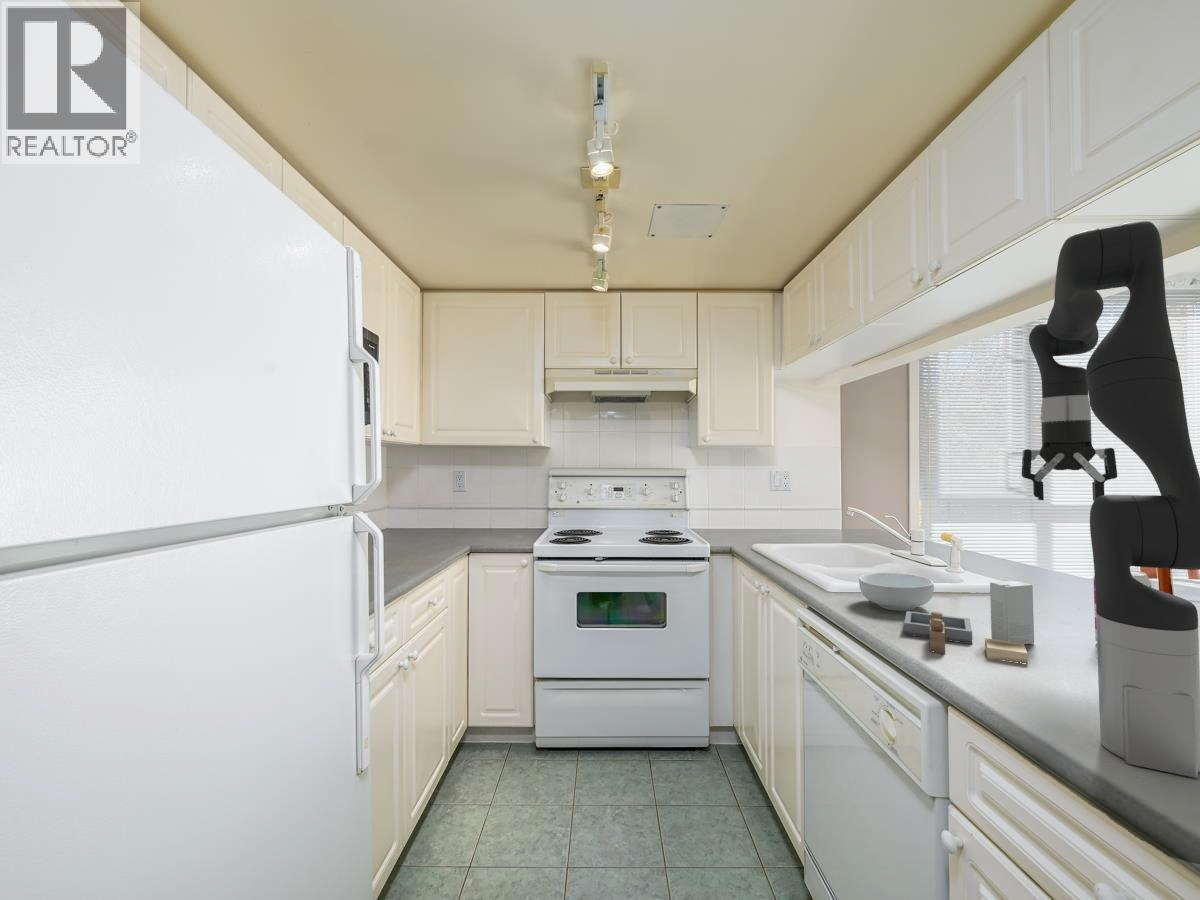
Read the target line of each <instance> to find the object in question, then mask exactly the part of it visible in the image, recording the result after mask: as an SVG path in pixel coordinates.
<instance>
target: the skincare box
mask: <svg viewBox="0 0 1200 900" xmlns="http://www.w3.org/2000/svg"><path fill="white" fill-rule="evenodd" d="M1033 591H1034V589H1033V585H1032V584H1029V583H1025V582H1022V581H1018V580H1017V581H1016V580H1012V581H1011V580H1010V581H1009V580H1008V581H1007V580H1006V581H990V582H989V592H990V596H989V598H990V629H991V631H990V633H991V639H996V640H1003V641H1011V642H1018V643H1023V644H1024V645H1033V644H1035V628H1034V627H1035V626H1034V625H1035V623H1034V618H1035V617H1034V592H1033Z"/></svg>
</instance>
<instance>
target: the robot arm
mask: <svg viewBox="0 0 1200 900" xmlns="http://www.w3.org/2000/svg"><path fill="white" fill-rule="evenodd" d="M1162 247H1163V245H1162V239H1161V235H1160V232H1159V230H1158V228H1157V226H1156V225H1155V224H1154V222H1151V221H1149V220H1148V221H1147V220H1140V221H1139V220H1137V221H1130V222H1125V223H1121V224H1114V225H1109V226H1108V225H1107V226H1104V227H1098V228H1092V229H1088V230H1083V231H1080V232H1076V233H1074V234H1072V235H1070V236H1069V237H1068V238H1066V240H1065V241H1064V242H1063V244H1062V246H1061V248H1060V251H1059V254H1058V259H1057V266H1056V273H1055V283H1054V300H1053V306H1052V308H1051V311H1050V313H1049V316H1048V318H1047V321H1046V322H1040V323H1037V324H1036V325H1034V327H1033V328H1031V331H1030V332H1029V335H1028V344H1029V347H1030V350H1031V352H1032V354H1033V357H1034V359H1035V361H1036V364H1037V367H1038V369H1039V374H1040V380H1041V398H1042V399H1041V400H1042V401H1041V408H1040V421H1041V422H1040V423H1041V425H1040V426H1041V447H1040V449H1039V450H1037V449H1036V450H1035V449H1028V448H1026V449H1023V450H1022V456H1021V457H1022V459H1021V477H1022V478H1024V479H1027V480H1030V481H1032V490H1033V493H1032V495H1033V496H1034V498H1037V500H1038V501H1044V498H1045V497H1044V495H1045V494H1044V481H1043V479H1044V478H1045V477H1046V476H1047V475H1048V474H1049V473H1050V472H1052V470H1055V471H1065V470H1071V471H1079V470H1083V471H1084V472H1085V473H1086V474H1087V475H1088V476H1090V477H1091V479H1092V480H1093V481H1092V482H1091V485H1092V487H1091V488H1092V490H1091V491H1092V501H1093V503H1092V504H1091V507H1090V509H1089V510H1090V511H1089V531H1090V532H1089V533H1090V542H1091V551H1092V560H1093V571H1094V574H1093V575H1095V593H1096V612H1097V613H1096V621H1097V641H1096V652H1097V674H1098V675H1097V676H1098V677H1097V678H1098V679H1097V680H1098V681H1097V682H1098V709H1099V731H1100V732H1099V733H1100V743H1101V746H1103V747H1104V748H1105V749H1106V750H1108V751H1110V753H1112V754H1114V755H1116V756H1118V757H1120V758H1121V759H1123V760H1124V761H1125V763H1126V764H1127V765H1128V764H1129V765H1132V766H1137V767H1143V768H1147V769H1152V770H1156V771H1161V772H1166V773H1171V774H1176V775H1180V776H1185V777H1190V778H1194V779H1198V778H1199V773H1200V642H1199V641H1200V639H1199V637H1200V636H1199V614H1198V613H1199V611H1198V609H1197V607H1196V605H1195V604H1194V603H1192V602H1191V601H1189V600H1187V599H1185V598H1183V597H1181V596H1178V595H1174V594H1171V593H1168V592H1165V591H1161V590H1159V589H1156V588H1154V587H1152V586H1151V587H1152V588H1151V587H1149V586H1147V585H1144V584H1143V583H1141V582H1139V581H1137V580H1136V579H1134V578H1133V577H1132V575H1131V571H1130V570H1131V567H1137V568H1139V567H1140V568H1152V569H1153V568H1154V569H1155V568H1156V569H1169V570H1187V571H1198V570H1199V571H1200V472H1199V469H1198V467H1197V462H1196V459H1195V456H1194V452H1193V448H1192V447H1193V446H1192V443H1191V438H1190V431H1189V425H1188V420H1187V418H1188V417H1187V413H1186V407H1185V406H1186V405H1185V397H1184V389H1183V382H1182V377H1181V371H1180V367H1179V366H1180V365H1179V362H1178V361H1179V360H1178V358H1177V354H1176V349H1175V344H1174V340H1173V336H1172V331H1171V326H1170V320H1169V315H1168V310H1167V309H1168V307H1167V300H1166V299H1167V297H1166V285H1165V270H1164V256H1163V248H1162ZM1116 288H1117V289H1118V288H1127V289H1128V290H1129V298H1128V302H1127V304H1126V306H1125V308H1124V309H1123V311H1122V313H1121V315H1120V316H1119V318H1118V320H1117V321H1116V322H1115V324H1114V325H1113V326H1112V328H1110V330H1109V331H1108V333H1107V334H1106V335H1105V336H1104V337H1103V339H1102V340H1101V341H1100V343H1099V344H1098V342H1099V337H1100V336H1099V330H1098V326H1097V323H1098V321H1099V319H1100V318H1101V316H1102V314H1103V311H1104V301H1103V297H1102V295H1101V293H1099V292H1098V291H1102V290H1110V289H1116ZM1096 346H1097V347H1096ZM1095 347H1096V348H1095ZM1093 349H1095V350H1094V351H1093V352H1092V354H1091V355H1090V358H1089V360H1088V361H1087V364H1086V368H1085V367H1083V366H1077V365H1065V364H1060V363H1059V362H1057V360H1055V359H1054V358H1055V357H1062V356H1072V355H1073V356H1074V355H1082V354H1086V353H1089V352H1091V351H1092V350H1093ZM1091 411H1092V412H1091ZM1092 413H1093V414H1094V416H1095V417H1096V418H1097V420H1098V421H1099V422H1100V423H1101V424H1102V425H1103V426H1104V427H1106V428H1107V430H1108V431H1110V433H1111V434H1113V435H1114V436H1115V437H1116V438H1118V439H1119V440H1120V441H1121V442H1122V443H1123V444H1124V445H1126V446H1127V447H1128V448H1129V449H1130V450H1131V451H1132V452H1134V453H1135V455H1137V457H1138V458H1139V459H1140V460H1141V461H1142V462H1143V463H1144V465H1145V466H1146V467H1147V469H1148V470H1149V472H1150V473H1151V475H1152V477H1153V479H1154V481H1155V483H1156V485H1157V488H1158V490H1159V492H1160V495H1157V494H1156V495H1155V494H1154V495H1153V494H1152V495H1151V494H1150V495H1149V494H1148V495H1145V494H1143V495H1142V494H1105V482H1106V481H1110V480H1115V479H1117V477H1118V469H1117V468H1118V467H1117V461H1116V453H1115V448H1112V447H1104V448H1096V449H1095V448H1094V446H1093V444H1092V443H1093V441H1092V440H1093V439H1092V416H1091V415H1092ZM1096 455H1097V456H1098V457H1099V459H1100V460H1103V463H1104V473H1100V471H1098V469H1097V468H1096V467H1095V466H1094V465H1093V464H1092V463H1090V461H1091V460H1092V459H1093V458H1094V457H1095V456H1096ZM1038 456H1040V457H1041V459H1042V460H1044V462H1045V463H1044V464H1042V466H1041V467H1040V468H1039V470H1038V471H1037V472H1036V473H1035V474H1033V473H1031V471H1032V461H1035V460H1036V459H1037V457H1038Z"/></svg>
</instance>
